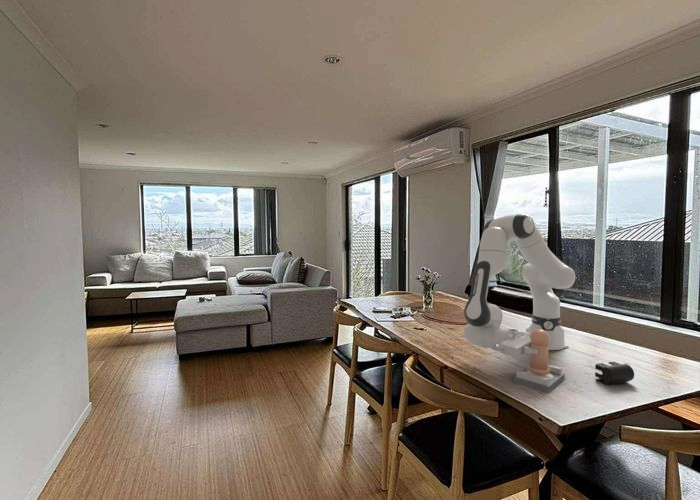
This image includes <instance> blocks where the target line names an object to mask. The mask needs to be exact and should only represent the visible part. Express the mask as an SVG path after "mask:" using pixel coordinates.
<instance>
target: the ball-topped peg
mask: <svg viewBox="0 0 700 500" xmlns="http://www.w3.org/2000/svg"><path fill="white" fill-rule="evenodd" d="M530 340H531V342H532V343H531V348H536V349H539V354H537V355H536V354H530V363H529V364H528V366H527V367H528V370H529V371H530V372H532V373H535V374H540V375H547V374H549V373H550V367H548V365H549V350H548V346H549V345H548V344H549V342H550V336H549V334H548V333H547V332H546V331H544V330H542V329H536V330H534V331H533V332H532V333H531V335H530Z"/></svg>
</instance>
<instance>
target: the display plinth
mask: <svg viewBox="0 0 700 500" xmlns="http://www.w3.org/2000/svg"><path fill="white" fill-rule="evenodd" d="M528 367H529V366H527V367H526V368H524V369H523V370H517V371H516V374H515V375H513V377H512V378H513V379H512V380H513V381H512V382H513V383H515V384H519V385H521V386H525V387H528V388H532V389H535V390H539V391H541V392H544V393H545V392H546V393H550V392H551V391H552V390H554V389H555V388H556V387H557V386H558V385H559V384H561V383H562V382H563V381H564V380H565V377H566V376H565V373H563V372H562V367H560V366H555V365H551V364H548V367H550V373H549V374H547V375H540V374H535V373H532V372H530V371H529V370H528Z"/></svg>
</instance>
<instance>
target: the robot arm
mask: <svg viewBox="0 0 700 500" xmlns="http://www.w3.org/2000/svg"><path fill="white" fill-rule="evenodd" d="M512 241H514V243H515V244H516V247H517V248H518V251H519V252H520V254H521V255H522V258H523V259H524V261H525V262H527V263H525V264H524V266H523V267H522V269H521V277H522V278H523V280H524V281H525V282H526V284H527V286H528V287H529V289H530V292H531V295H532V307H533V309H532V315H531V324H530V325H529V326H528V327H526V328H525V332H523V331H519V330H518V329H517V328H511V329H505V328H500V327H501V324H502V321H503V311H502V309H501V308H500V307H499V306H498V305H496V304H492V303H490V302H488V301H487V300H488V299H487V297H488V292H489V287H490V286H489V285H490V282H491V281H490V280H491V279H492V278H493V276H495V275H497V274H500V273H501V272H502V271H503V270H504V269H505V267H506V264H507V259H508V242H512ZM575 281H576V272H575V270H574V269H573V268H572V267H570V266H568V265H566V263H564V262H563V261H561V260H560V259H559V258H558V257H557V256H556V255H555V254H554V253H553V251H551V250H550V247H548V245H547V243H546V241H545V240H544V238H543V236H542V234H541V232H540V230H539V229H538V227H537V226H536V224H535V222H534V220H533V218H532V217H531V216H530V215H528V214H527V213H518V214H511V215H510V214H509V215H504V216H501V217H497V218H494V219H490V220H488V221H487V222H486V223H485V224H484V227H483V232H482V235H481V239H480V243H479V248H478V258H477V264H476V266H475V268H474V272H473V278H472V281H471V286H470V293H469V298H468V300H467V303H466V304H465V307H464V310H463V315H464V319H465V321H466V322H467V324H466V325H465V326H464V331H463V335H464V337H465V339H466V341H467V342H468V343H469V344H471V345H474V346H475V347H476V346H477V347H480V348H482V349H483V348H484V349H491V350H493V351H495V352H499V353H501V354H503V355H506V356H510V357H513V358H519V357H521V356H522V355H524V354H526V355H527V354H528V355H529V354H530V355H531V354H536V355H537V354H539V349H536V348H531V343H532V342H531V340H530V335H531V333H532V332H533V331H534V330H536V329H542V330H544V331H546V332H547V333H548V334H549V336H550V342H549V344H548V345H549V346H548V351H559V350H562V349H568V348H569V344H567V343H566V342H565V329H564V328H563V327H562V326H561V325H562V323H561V322H562V317H561V301H560V298H559V297H558V295H556V294H555V293H554V290H553V289H558V290H559V289H561V290H562V289H569V288H571V287H572V286H573V285H574V284H575Z"/></svg>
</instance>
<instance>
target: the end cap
mask: <svg viewBox="0 0 700 500" xmlns="http://www.w3.org/2000/svg"><path fill="white" fill-rule="evenodd" d="M594 369H595V370H597V371H600V372H601V373H599V372H597V371H595V372H594V376H595V381H596V382H598V383H600V384H603V385H605V386H608V385H616V384H623V383H624V384H625V383H628V382H630V381H632V380H634V378H635V372H634V371H635V370H634V369H633V367H632V366H631V365H629V364H628V363H622V364H621V363H618V362H616V361H608V364H605V363H602V362H600V363H596V364H595V368H594Z"/></svg>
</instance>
